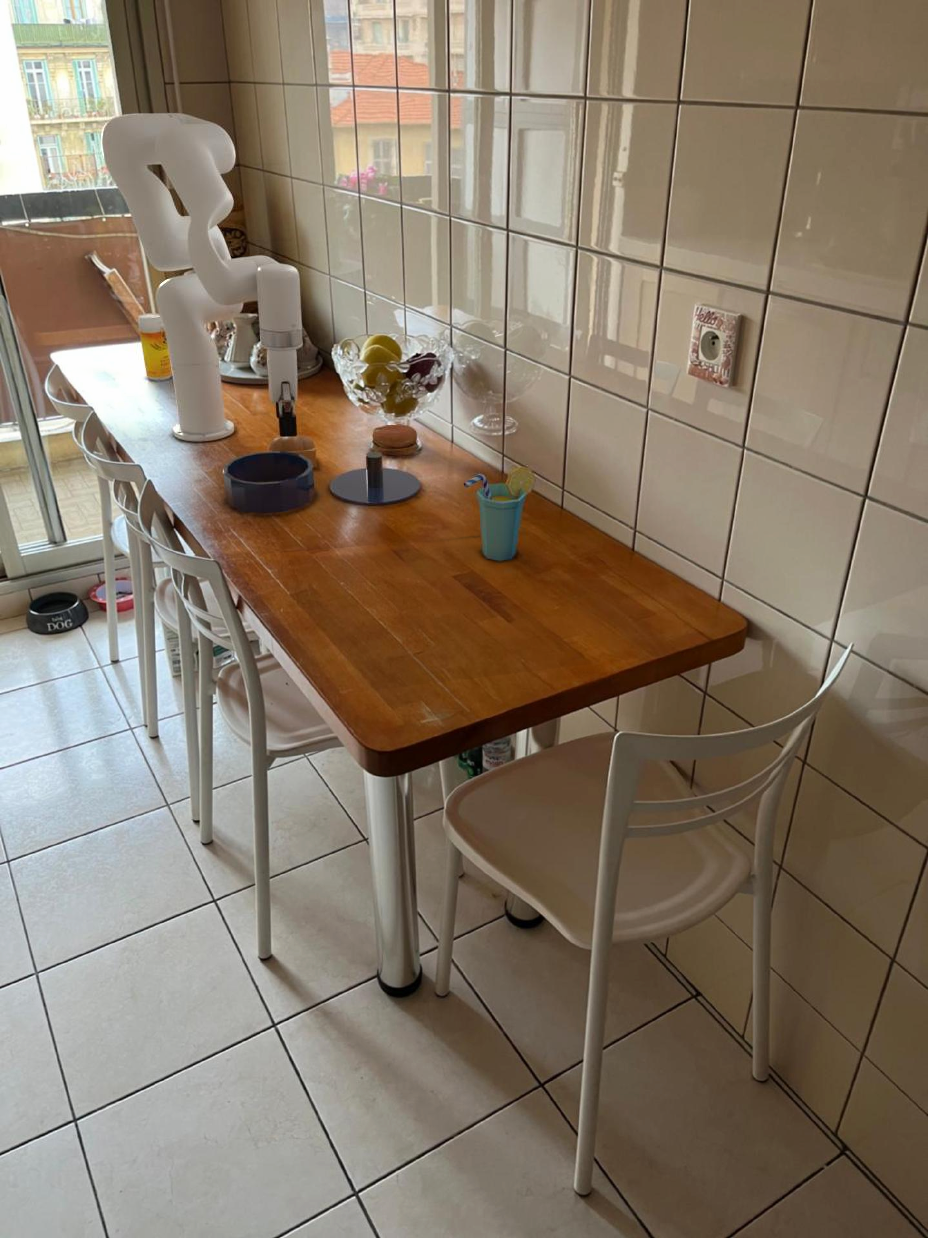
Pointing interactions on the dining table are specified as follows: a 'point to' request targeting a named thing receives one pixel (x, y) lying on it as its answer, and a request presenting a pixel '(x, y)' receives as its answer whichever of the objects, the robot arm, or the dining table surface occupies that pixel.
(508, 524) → the cup
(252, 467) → the pot
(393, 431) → the burger
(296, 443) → the bread
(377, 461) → the lid
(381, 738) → the dining table surface
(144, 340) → the yellow tall cylinder
